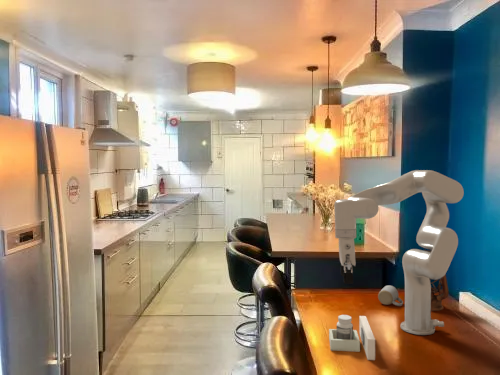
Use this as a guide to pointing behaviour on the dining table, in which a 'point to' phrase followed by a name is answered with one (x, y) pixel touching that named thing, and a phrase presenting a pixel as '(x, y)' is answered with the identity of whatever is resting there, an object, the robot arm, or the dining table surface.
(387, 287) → the ceramic mug
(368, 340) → the board
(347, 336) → the pill bottle
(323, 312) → the dining table surface
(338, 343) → the pale green square tray
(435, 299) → the lantern
